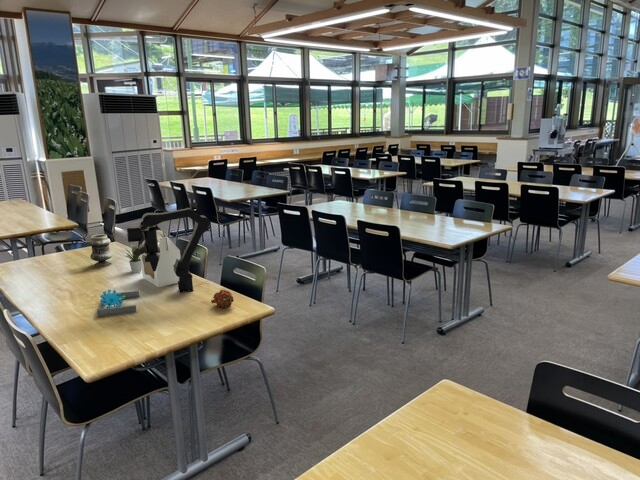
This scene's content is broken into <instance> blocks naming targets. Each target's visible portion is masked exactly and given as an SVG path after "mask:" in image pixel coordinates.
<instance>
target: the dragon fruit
mask: <svg viewBox="0 0 640 480" xmlns="http://www.w3.org/2000/svg"><path fill="white" fill-rule="evenodd" d="M211 298H212V299H211V300H210V302H211V304H216V307H217V308H219V307H220V308H222V307H223V308H222V309H225V308H224V307H227V308H228V307H231V306H232V304H233V302H234V301H235V300H234V296H233V294H232V293H231V292H230V291H229V290H226V289H220V291H217V292H215V293H214V294H213V296H212V297H211Z"/></svg>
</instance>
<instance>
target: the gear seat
mask: <svg viewBox="0 0 640 480" xmlns="http://www.w3.org/2000/svg"><path fill="white" fill-rule="evenodd" d="M118 293H119V292H116V293H114V294H118ZM120 293H121V295H120V296H119V297H121V296H124V295H125V298H124V299H134V298H140V290H130V291H122V292H120ZM106 294H107V295H108V293H106ZM103 296H104V297H105V295H104V294H103ZM117 296H118V295H117ZM101 299H103V300H105V299H104V298H101ZM124 299H123V300H124ZM103 303H106V302H100V301H99V305H98V308H97V309H96V313H97V314H96V315H97V317H98V318H101V317H109V316H116V315H125V314H133V313H137V312H138V310H137V304H133V305H132V304H131V305H127V306H126V305H124V306H120V307H117V306H116V307H114V308H113V307H110V308H107V307H106V305H105V306H103Z"/></svg>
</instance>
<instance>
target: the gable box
mask: <svg viewBox="0 0 640 480" xmlns="http://www.w3.org/2000/svg"><path fill="white" fill-rule="evenodd" d="M156 231H157V240H158V247H159V248H160V253H157V254H158V255H160V257H159V261H158V265H157V268H156V271H153V270H152V267H151V264H150V262H145V256H146V255H147V254H145V253H144V254H141V255H140V256H139V257H141V258H140V259H141V265H142V271H141V273H142V278H143V279H144V280H146V281H147V282H149V283H151V284H153V285H154V286H156V287H158V288H162V287H166V286H169V285H174V283H175V284H178V281H179V278H180V277H178V276H177V275H176V274H175V272H174V266H173V265H174V264H175V262H176V259H178V260H180V258H181V250H180V249H179V248H178V247H177V246H176V244H175V243H174V242H173V241H172V240H171V238H169V237H168V236H165V231H164V230H162V229H161V230H156ZM144 242H145V239H144V238H143V241H142V242H141V244H140V245H141V246H142V245H144V244H145V243H144Z"/></svg>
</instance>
